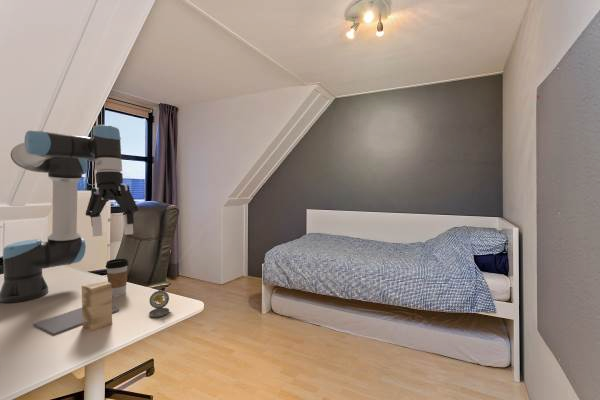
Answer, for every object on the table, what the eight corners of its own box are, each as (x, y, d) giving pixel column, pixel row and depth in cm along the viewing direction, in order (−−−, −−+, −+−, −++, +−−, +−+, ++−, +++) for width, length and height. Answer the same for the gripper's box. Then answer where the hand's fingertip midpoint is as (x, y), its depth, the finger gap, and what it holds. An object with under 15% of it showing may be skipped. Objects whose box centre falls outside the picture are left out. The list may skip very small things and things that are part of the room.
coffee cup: (118, 298, 118) (117, 262, 118) (101, 296, 120) (100, 261, 119) (133, 291, 127) (133, 258, 126) (117, 289, 128) (117, 257, 128)
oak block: (82, 327, 94) (81, 285, 93) (102, 319, 99) (101, 280, 99) (92, 331, 91) (91, 288, 90) (112, 323, 96) (111, 283, 96)
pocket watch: (155, 319, 99) (155, 291, 99) (142, 314, 104) (142, 287, 103) (176, 311, 106) (176, 285, 106) (163, 306, 111) (163, 281, 110)
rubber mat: (33, 325, 95) (33, 323, 95) (98, 303, 113) (98, 302, 113) (53, 335, 88) (53, 333, 88) (119, 310, 106) (119, 309, 106)
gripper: (70, 175, 95) (74, 238, 94) (128, 166, 88) (132, 235, 87) (92, 176, 102) (96, 235, 101) (147, 169, 95) (151, 232, 94)
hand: (113, 235), depth 94 cm, fingers open, 13 cm apart
